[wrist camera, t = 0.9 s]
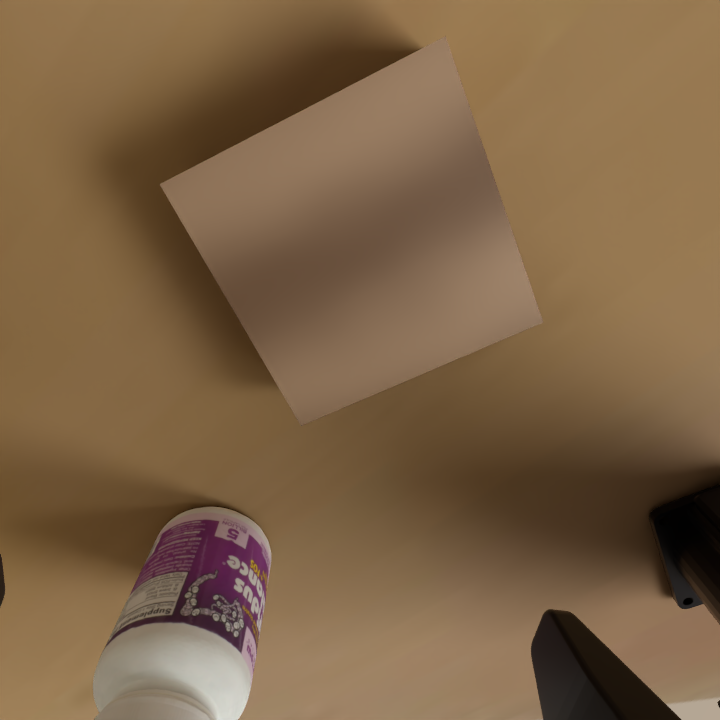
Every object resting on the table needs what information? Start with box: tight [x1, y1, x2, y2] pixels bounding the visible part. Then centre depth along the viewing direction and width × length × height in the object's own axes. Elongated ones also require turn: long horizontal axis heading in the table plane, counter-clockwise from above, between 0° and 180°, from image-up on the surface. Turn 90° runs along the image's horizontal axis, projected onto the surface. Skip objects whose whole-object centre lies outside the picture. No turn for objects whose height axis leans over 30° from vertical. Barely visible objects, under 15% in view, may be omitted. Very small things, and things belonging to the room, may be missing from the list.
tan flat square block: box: [160, 36, 543, 426], centre depth 18 cm, size 9×9×3 cm
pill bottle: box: [93, 507, 271, 720], centre depth 20 cm, size 5×5×10 cm
